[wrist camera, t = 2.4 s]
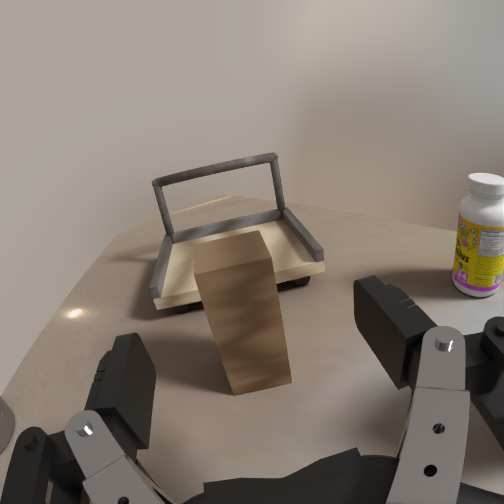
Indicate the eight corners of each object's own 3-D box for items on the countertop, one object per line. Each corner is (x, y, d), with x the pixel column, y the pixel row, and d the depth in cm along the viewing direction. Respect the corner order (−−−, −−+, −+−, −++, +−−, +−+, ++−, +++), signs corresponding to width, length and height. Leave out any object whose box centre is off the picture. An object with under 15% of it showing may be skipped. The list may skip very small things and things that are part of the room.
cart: (162, 323, 36) (122, 211, 30) (173, 261, 52) (149, 179, 46) (326, 286, 37) (314, 168, 31) (290, 235, 53) (277, 151, 47)
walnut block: (234, 395, 25) (193, 274, 20) (229, 357, 29) (195, 244, 24) (292, 382, 25) (271, 256, 20) (279, 345, 29) (258, 229, 24)
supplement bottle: (448, 268, 34) (454, 169, 29) (492, 270, 31) (503, 172, 26) (454, 299, 29) (467, 185, 24) (504, 300, 26) (524, 188, 21)
